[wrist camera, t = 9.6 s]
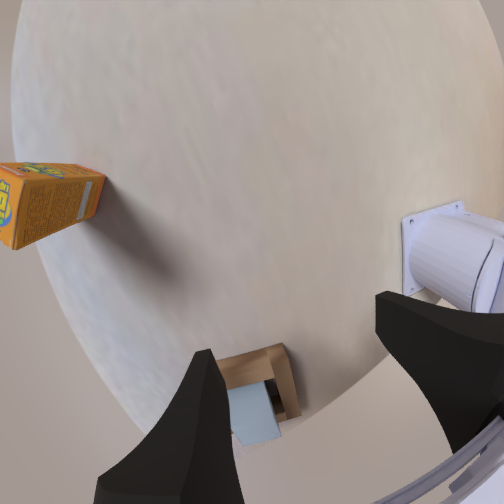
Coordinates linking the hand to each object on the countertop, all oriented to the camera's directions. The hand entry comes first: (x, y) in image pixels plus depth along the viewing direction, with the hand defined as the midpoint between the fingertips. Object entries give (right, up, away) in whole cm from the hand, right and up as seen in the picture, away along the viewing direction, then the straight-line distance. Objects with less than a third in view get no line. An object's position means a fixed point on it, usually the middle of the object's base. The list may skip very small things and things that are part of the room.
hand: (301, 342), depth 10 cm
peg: (-2, -9, +14) cm, 17 cm away
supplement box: (-14, +8, +6) cm, 18 cm away
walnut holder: (-2, -9, +14) cm, 17 cm away
